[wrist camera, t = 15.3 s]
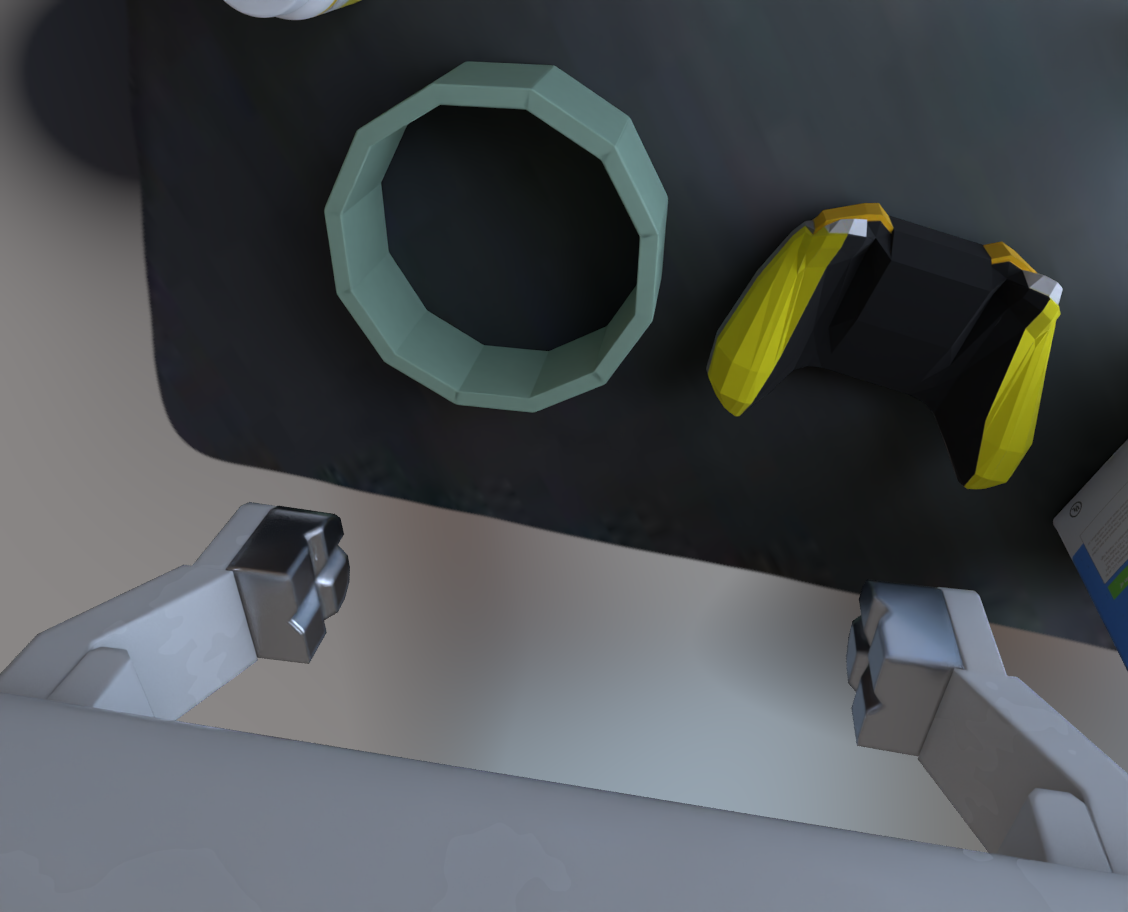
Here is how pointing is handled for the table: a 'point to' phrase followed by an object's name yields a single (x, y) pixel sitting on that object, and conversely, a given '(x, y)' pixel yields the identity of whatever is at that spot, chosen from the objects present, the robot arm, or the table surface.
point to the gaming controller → (900, 329)
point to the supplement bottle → (287, 7)
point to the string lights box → (1102, 543)
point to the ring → (433, 343)
